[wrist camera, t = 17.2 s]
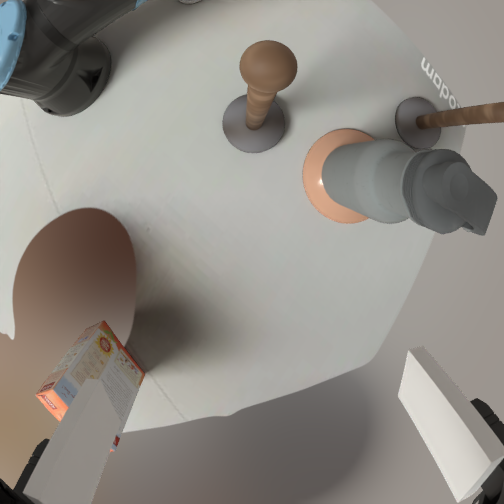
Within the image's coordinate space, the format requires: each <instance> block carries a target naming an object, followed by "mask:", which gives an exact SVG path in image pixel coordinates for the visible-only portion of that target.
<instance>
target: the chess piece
mask: <svg viewBox="0 0 504 504" xmlns="http://www.w3.org/2000/svg"><path fill="white" fill-rule="evenodd" d="M179 1H180V2H182V3H186V4H192V3H196V2H199V1H201V0H179Z"/></svg>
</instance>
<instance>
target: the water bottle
mask: <svg viewBox="0 0 504 504" xmlns="http://www.w3.org/2000/svg"><path fill="white" fill-rule="evenodd" d="M321 176H322V183H323V186H324V189H325V191H326V193H327V194H328V195H329V197H330V198H331V199H332V200H333V201H334V202H336V203H338V204H339V205H341V206H344V207H346V208H348V209H351V210H353V211H355V212H357V213H360V214H362V215H364V216H366V217H368V218H371V219H373V220H375V221H378V222H381V223H387V224H393V223H399V222H402V221H405V220H406V219H408V218H410V219H411V220H412V221H413V222H415V223H416V224H418V225H421V226H423V227H426V228H428V229H431V230H433V231H435V232H438V233H440V234H446V233H451V232H453V231H456V230H457V229H459V228H460V227H463V229H464V230H466V231H467V232H473V233H476V234H478V235H485V233H486V230H487V228H488V225H489V222H490V219H491V216H492V213H493V210H494V207H495V204H496V201H497V195H496V193H495V192H494V191H493V190H492V189H491V187H490V186H488V185H487V184H486V183H485V182H484V181H483V180H482V179H480V178H479V177H478V176H477V175H476V174H475V173H473V172H472V170H471V168H470V166H469V165H468V163H467V162H466V160H465V159H464V158H463V157H462V156H461V155H460V154H458V153H456V152H455V151H452V150H448V149H438V150H437V149H435V150H432V149H425V150H420V151H418V152H415V151H414V150H413V149H412V148H410V147H409V146H408V145H406V144H404V143H402V142H400V141H397V140H393V139H379V140H373V141H366V142H359V143H353V144H347V145H343V146H340V147H338V148H336V149H334V150H333V151H332V152H331V153H330V154H329V155H328V156H327V158H326V159H325V161H324V164H323V167H322V174H321Z"/></svg>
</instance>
